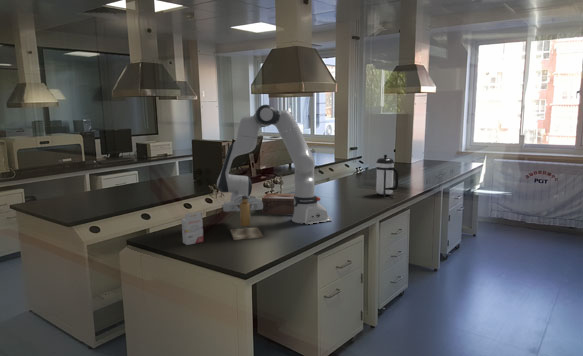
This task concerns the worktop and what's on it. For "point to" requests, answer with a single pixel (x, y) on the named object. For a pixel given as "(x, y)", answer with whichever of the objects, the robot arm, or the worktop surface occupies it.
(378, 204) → the worktop surface
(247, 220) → the reagent bottle
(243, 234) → the birch board
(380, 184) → the coffee press
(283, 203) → the tissue box cover
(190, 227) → the ink cartridge box
